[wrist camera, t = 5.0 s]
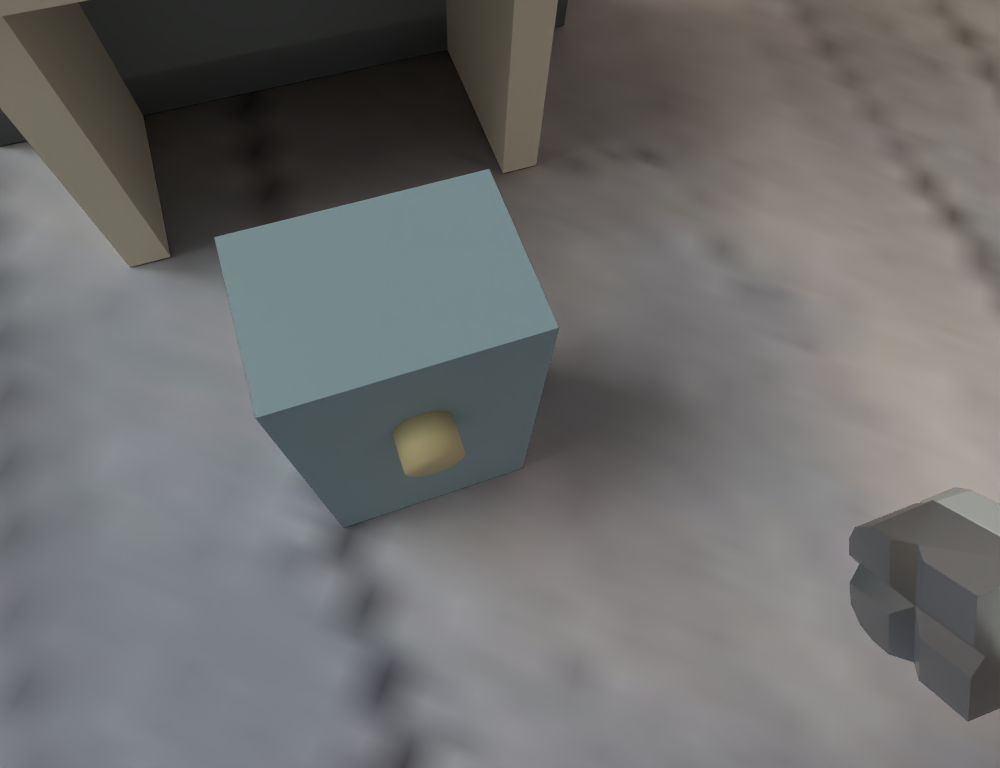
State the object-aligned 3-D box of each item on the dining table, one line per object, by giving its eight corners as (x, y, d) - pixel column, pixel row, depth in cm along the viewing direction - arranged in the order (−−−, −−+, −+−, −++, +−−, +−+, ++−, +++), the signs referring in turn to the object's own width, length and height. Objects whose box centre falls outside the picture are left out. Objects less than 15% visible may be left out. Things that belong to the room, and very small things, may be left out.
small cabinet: (351, 557, 17) (265, 465, 10) (312, 409, 19) (213, 237, 12) (533, 495, 18) (576, 369, 11) (481, 358, 20) (489, 168, 12)
